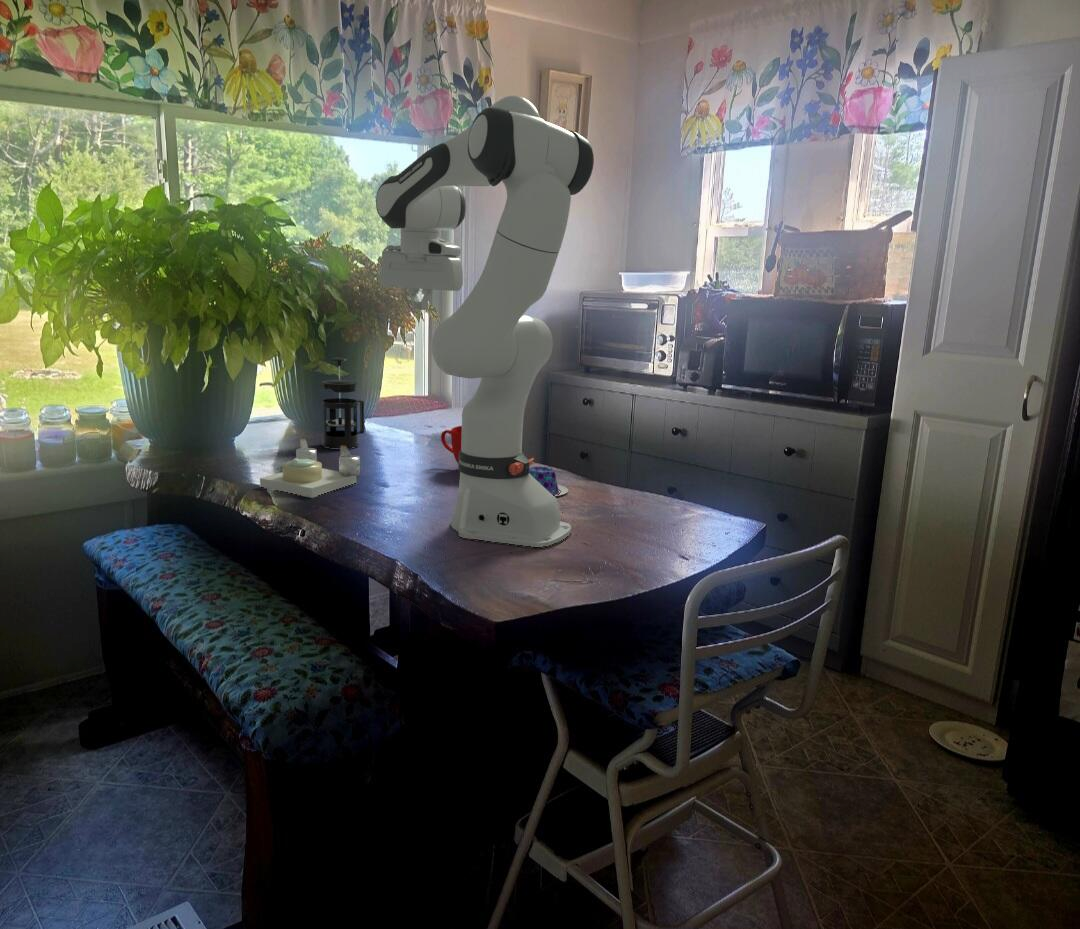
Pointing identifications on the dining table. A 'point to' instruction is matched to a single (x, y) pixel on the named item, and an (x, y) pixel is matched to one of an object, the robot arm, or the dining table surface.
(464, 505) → the robot arm
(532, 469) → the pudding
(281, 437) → the dining table surface
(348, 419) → the french press
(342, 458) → the near knob
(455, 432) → the ceramic cup
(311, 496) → the base
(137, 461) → the dining table surface
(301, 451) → the far knob
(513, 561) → the dining table surface
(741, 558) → the dining table surface
